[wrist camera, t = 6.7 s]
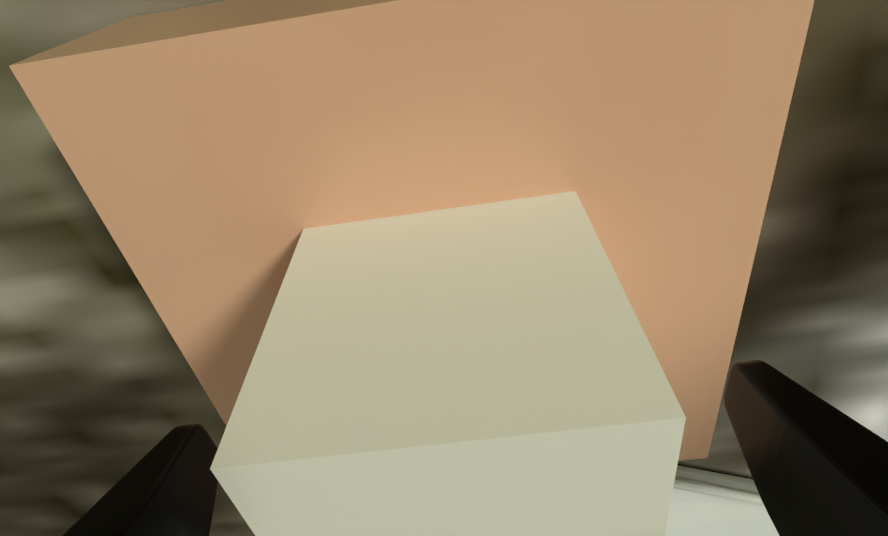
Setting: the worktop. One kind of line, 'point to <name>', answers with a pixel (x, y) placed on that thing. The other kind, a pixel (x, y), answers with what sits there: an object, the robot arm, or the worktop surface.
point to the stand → (430, 148)
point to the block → (454, 385)
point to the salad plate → (716, 506)
